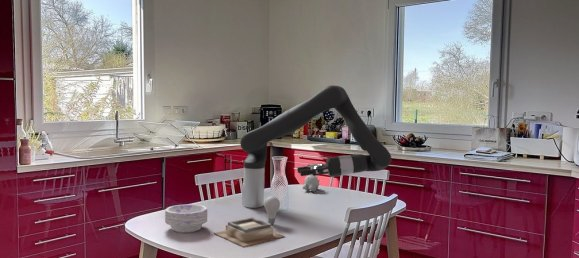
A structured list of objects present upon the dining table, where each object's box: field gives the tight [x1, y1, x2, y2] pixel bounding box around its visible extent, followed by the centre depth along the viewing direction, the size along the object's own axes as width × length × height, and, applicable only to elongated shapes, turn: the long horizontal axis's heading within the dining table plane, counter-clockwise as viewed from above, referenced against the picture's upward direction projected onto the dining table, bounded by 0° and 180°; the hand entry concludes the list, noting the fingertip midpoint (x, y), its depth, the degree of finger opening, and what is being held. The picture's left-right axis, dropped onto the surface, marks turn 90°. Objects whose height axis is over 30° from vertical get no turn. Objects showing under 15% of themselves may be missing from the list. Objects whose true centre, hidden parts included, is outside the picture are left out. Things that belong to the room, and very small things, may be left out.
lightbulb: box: [263, 195, 281, 226], centre depth 183 cm, size 6×6×11 cm
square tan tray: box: [213, 217, 286, 248], centre depth 169 cm, size 18×18×4 cm
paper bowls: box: [164, 203, 208, 234], centre depth 175 cm, size 15×15×8 cm
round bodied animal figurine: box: [302, 174, 320, 193], centre depth 246 cm, size 7×12×8 cm, turn 148°
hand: (298, 171), depth 183 cm, fingers open, 8 cm apart
